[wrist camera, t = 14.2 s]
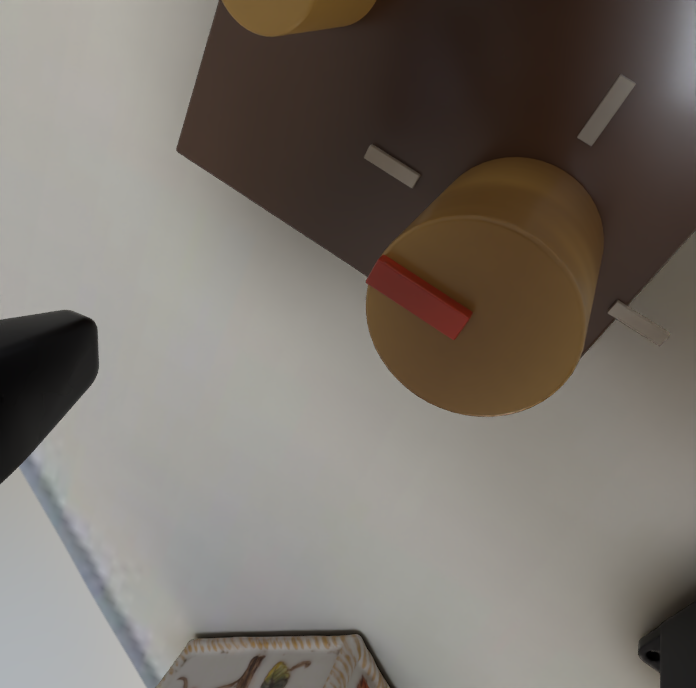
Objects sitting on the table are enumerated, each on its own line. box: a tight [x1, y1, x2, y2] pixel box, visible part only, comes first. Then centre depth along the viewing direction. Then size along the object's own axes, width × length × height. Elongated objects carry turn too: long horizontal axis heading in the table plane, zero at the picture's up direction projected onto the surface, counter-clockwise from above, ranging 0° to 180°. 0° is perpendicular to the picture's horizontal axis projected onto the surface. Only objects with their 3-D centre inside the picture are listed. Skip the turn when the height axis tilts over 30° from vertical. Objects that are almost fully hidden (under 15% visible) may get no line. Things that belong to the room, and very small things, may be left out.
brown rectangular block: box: [176, 0, 696, 358], centre depth 16 cm, size 13×10×3 cm
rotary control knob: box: [366, 157, 604, 417], centre depth 13 cm, size 4×4×5 cm
